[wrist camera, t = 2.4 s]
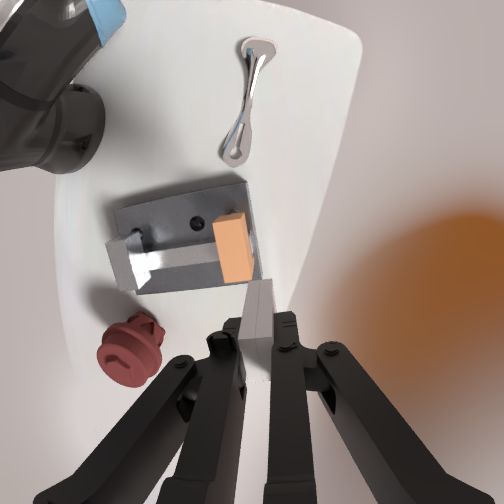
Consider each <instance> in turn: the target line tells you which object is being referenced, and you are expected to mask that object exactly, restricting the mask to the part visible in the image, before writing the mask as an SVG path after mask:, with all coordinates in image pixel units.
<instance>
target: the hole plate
mask: <svg viewBox="0 0 504 504" xmlns="http://www.w3.org/2000/svg"><path fill="white" fill-rule="evenodd" d="M113 212H114V216H115V220H116V225H117V229H118V233H119V236H120V235H124V234H129V233H132V232H134V231H139V232H140V235H141V236H140V239H141V243H142V246H143V250H146V249H152V248H159V247H165V246H171V245H177V244H183V243H189V242H196V241H202V240H209V239H215V234H214V229H213V224H212V223H213V222H214V221H215V220H216V219H217V218H218V217H219V216H224V215H230V214H233V213H242V212H244V214H245V219H246V225H247V231H248V233H250V236H251V242H252V248H253V255H254V269H253V275H252V280H248V281H240V282H232V283H225V282H224V277H223V273H222V268H221V263H220V261H214V262H206V263H199V264H192V265H184V266H177V267H170V268H162V269H155V270H149V272H150V275H151V278H150V279H149V280H148V281H147V282H146V283H145V284H144V285H143V286H142V287H141V288H140V289H139V290H135V291H136V294H137V295H144V294H155V293H165V292H175V291H184V290H194V289H203V288H212V287H220V286H229V285H237V284H245V283H248V282H249V281H255V280H262V275H263V272H262V266H261V260H260V254H259V248H258V242H257V236H256V230H255V224H254V218H253V212H252V206H251V200H250V194H249V188H248V182H243V183H237V184H231V185H226V186H220V187H215V188H209V189H204V190H199V191H194V192H189V193H184V194H180V195H175V196H170V197H166V198H161V199H157V200H153V201H148V202H144V203H140V204H136V205H132V206H128V207H124V208H121V209H118V210H115V211H113Z"/></svg>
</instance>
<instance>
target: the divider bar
mask: <svg viewBox="0 0 504 504" xmlns="http://www.w3.org/2000/svg"><path fill="white" fill-rule="evenodd" d="M140 236H141V235H140V232H139V231H134V232H132V233H129V234H124V235H120V236H118V237H116V238H114V239H112V240H111V241H109V242H107V243H105V245H106V249H107V252H108V256H109V259H110V263H111V266H112V269H113V272H114V276H115V279H116V282H117V285H118V288H119V291H129V290H139V289H140V288H141V287H142V286H143V285H144V284H145V283H146V282H147V281H148V280H149V279H150V278H151V275H150V272H149V270H155V269H162V268H170V267H177V266H184V265H192V264H199V263H206V262H214V261H220V259H219V254H218V249H217V244H216V239H209V240H202V241H196V242H189V243H183V244H177V245H171V246H165V247H159V248H152V249H146V250H143V246H142V243H141V239H140ZM248 237H249V242H250V248H251V254H252V255H253V248H252V242H251V236H250V233H248Z"/></svg>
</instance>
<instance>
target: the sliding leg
mask: <svg viewBox="0 0 504 504" xmlns="http://www.w3.org/2000/svg"><path fill="white" fill-rule="evenodd" d="M212 224H213V229H214V234H215V239H216V244H217V249H218V254H219V259H220V263H221V268H222V273H223V277H224V282H225V283H232V282H240V281H248V280H252V275H253V269H254V255H252V254H251V248H250V242H249V237H248V231H247V225H246V219H245V214H244V212H242V213H233V214H230V215H224V216H219V217H218V218H217V219H216V220H215V221H214V222H213V223H212Z"/></svg>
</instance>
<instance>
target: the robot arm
mask: <svg viewBox="0 0 504 504" xmlns="http://www.w3.org/2000/svg"><path fill="white" fill-rule="evenodd" d="M125 19H126V10H125V7H124V6H123V4H122V2H121V1H120V0H0V171H5V170H11V169H17V168H24V167H29V166H35V167H38V168H40V169H43V170H46V171H48V172H51V173H54V174H67V173H72V172H75V171H77V170H79V169H81V168H82V167H84V166H85V165H86V164H87V163H88V162H89V161H90V159H91V158H92V157H93V155H94V154H95V152H96V150H97V149H98V147H99V144H100V142H101V139H102V136H103V132H104V126H105V109H104V105H103V102H102V99H101V97H100V96H99V94H98V93H97V92H96V91H95V90H94V89H92V88H90V87H87V86H84V85H81V84H70V82H71V81H72V80H73V79H74V77H75V76H76V75H77V74H78V73H79V71H80V70H81V69H82V68H83V67H84V66H85V64H86V63H87V62H88V61H89V60H90V59H91V58H92V57H93V56H94V55H95V54H96V53H97V51H98V50H99V49H100V48H103V47H104V46H105V44H106V42H107V40H108V39H109V38H110V37H111V36H112V35H113V34H114V33H115V32H116V31H117V30H118V29H119V28H120V27H121V26H122V25H123V23H124V22H125ZM206 340H207V344H208V347H209V351H210V355H209V357H208V358H205V359H201V360H197V361H194V358H193V357H192V356H189V355H180V356H176V357H174V358H173V359H171V360H170V361H169V362H168V364H167V365H166V366H165V367H164V368H163V369H162V371H161V372H160V373H159V374H158V375H157V377H156V378H155V379H154V380H153V381H152V382H151V384H150V385H149V386H148V387H147V389H146V390H145V391H144V392H143V393H142V394H141V395H140V397H139V398H138V399H137V400H136V401H135V403H134V404H133V405H132V406H131V407H130V409H129V410H128V411H127V412H126V413H125V415H123V417H122V418H121V419H120V420H119V421H118V422H117V424H116V425H115V426H114V427H113V428H112V430H111V431H110V432H109V433H108V434H107V435H106V437H105V438H104V439H103V440H102V441H101V442H100V444H99V445H98V446H97V447H96V448H95V449H94V451H93V452H92V453H91V454H90V455H89V456H88V458H87V459H86V460H85V461H84V462H83V463H82V464H81V466H80V467H79V468H78V469H77V470H76V471H75V473H74V474H73V475H71V476H70V477H68V478H66V479H64V480H63V481H61V482H59V483H57V484H56V485H54V486H52V487H50V488H48V489H46V490H44V491H42V492H41V493H39V494H38V495H36V497H35V498H34V500H33V504H143V503H144V502H145V500H146V499H147V497H148V496H149V494H150V493H151V491H152V490H153V488H154V487H155V485H156V484H157V482H158V481H159V479H160V478H161V476H162V475H163V473H164V472H165V470H166V468H167V467H168V465H169V463H170V462H171V461H172V459H173V457H174V456H175V454H176V453H177V451H178V449H179V448H180V446H181V445H182V443H183V445H182V449H181V452H180V456H179V459H178V463H177V466H176V469H175V473H174V475H173V476H172V477H168V478H166V479H165V480H164V482H163V484H162V486H161V489H160V493H159V496H158V499H157V502H156V504H234V498H235V490H236V482H237V473H238V464H239V456H240V448H241V439H242V430H243V421H244V413H245V403H246V394H247V387H246V383H245V381H246V378H247V381H248V382H262V381H271V391H270V424H269V451H268V474H267V483H266V484H265V487H264V495H263V504H317V496H316V495H317V494H316V484H315V483H316V482H315V477H314V466H313V454H312V443H311V433H310V422H309V413H308V404H307V395H306V390H309V391H317V392H318V395H319V397H320V399H321V400H322V402H323V404H324V406H325V408H326V410H327V412H328V413H329V415H330V417H331V419H332V421H333V423H334V424H335V426H336V428H337V430H338V432H339V433H340V435H341V437H342V439H343V441H344V443H345V445H346V446H347V448H348V450H349V452H350V454H351V456H352V457H353V459H354V461H355V463H356V465H357V466H358V468H359V470H360V472H361V474H362V476H363V477H364V479H365V481H366V483H367V485H368V486H369V488H370V490H371V492H372V493H373V495H374V497H375V499H376V501H377V502H378V504H495V502H494V499H493V498H492V497H491V496H490V495H488V494H486V493H484V492H482V491H480V490H478V489H476V488H474V487H472V486H470V485H468V484H466V483H464V482H462V481H460V480H458V479H456V478H454V477H453V476H451V475H449V474H447V473H446V472H445V471H444V469H443V468H442V467H441V466H440V464H439V463H438V462H437V460H436V459H435V458H434V457H433V455H432V454H431V453H430V451H429V450H428V449H427V448H426V446H425V445H424V444H423V442H422V441H421V440H420V439H419V438H418V436H417V435H416V434H415V432H414V431H413V430H412V429H411V427H410V426H409V425H408V424H407V422H406V421H405V420H404V418H403V417H402V416H401V415H400V413H399V412H398V411H397V410H396V408H395V407H394V406H393V405H392V404H391V402H390V401H389V400H388V398H387V397H386V396H385V395H384V393H383V392H382V391H381V390H380V388H379V387H378V386H377V385H376V384H375V382H374V381H373V380H372V379H371V377H370V376H369V375H368V374H367V372H366V371H365V370H364V369H363V367H362V366H361V365H360V364H359V363H358V361H357V360H356V359H355V358H354V356H353V355H352V354H351V353H350V351H349V350H348V349H347V348H346V347H345V346H344V345H343V344H342V343H339V342H333V341H330V342H325V343H323V344H321V345H320V346H319V347H318V348H317V350H316V349H308V348H306V347H304V346H302V345H301V344H300V342H299V335H298V328H297V322H296V315H295V314H294V313H293V312H292V311H288V312H280V313H277V311H276V304H275V296H274V289H273V282H272V279H263V280H255V281H249V282H248V288H247V293H246V298H245V304H244V309H243V314H242V317H238V318H229V319H228V320H227V321H226V322H225V323H224V325H223V330H222V331H217V332H214V333H212V334H210V335H209V336H208V337H207V339H206ZM183 441H184V442H183Z"/></svg>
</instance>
